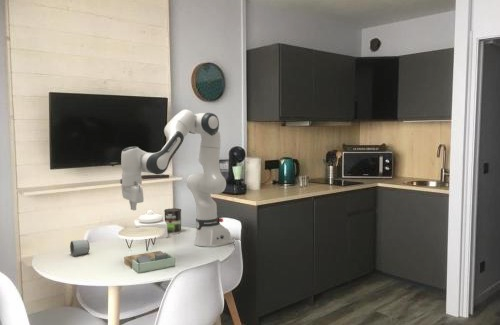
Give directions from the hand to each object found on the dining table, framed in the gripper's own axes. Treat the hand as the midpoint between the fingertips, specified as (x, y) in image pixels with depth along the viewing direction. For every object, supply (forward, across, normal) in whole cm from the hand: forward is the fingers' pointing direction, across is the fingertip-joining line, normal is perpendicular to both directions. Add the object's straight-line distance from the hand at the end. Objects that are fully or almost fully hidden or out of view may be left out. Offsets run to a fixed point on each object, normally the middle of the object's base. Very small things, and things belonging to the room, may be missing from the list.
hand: (133, 209), depth 205 cm
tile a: (+22, -13, -7) cm, 26 cm away
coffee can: (+26, +47, -40) cm, 67 cm away
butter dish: (+26, +46, -25) cm, 58 cm away
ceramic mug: (+25, +30, +20) cm, 44 cm away
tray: (+25, -14, -3) cm, 29 cm away
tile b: (+23, -13, +1) cm, 26 cm away
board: (+25, -5, -3) cm, 26 cm away
